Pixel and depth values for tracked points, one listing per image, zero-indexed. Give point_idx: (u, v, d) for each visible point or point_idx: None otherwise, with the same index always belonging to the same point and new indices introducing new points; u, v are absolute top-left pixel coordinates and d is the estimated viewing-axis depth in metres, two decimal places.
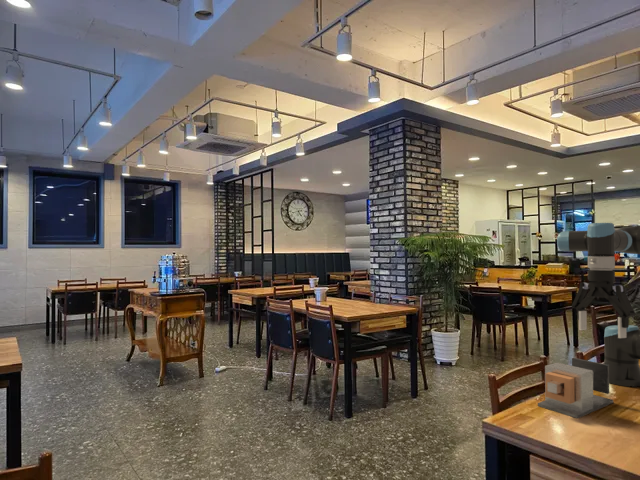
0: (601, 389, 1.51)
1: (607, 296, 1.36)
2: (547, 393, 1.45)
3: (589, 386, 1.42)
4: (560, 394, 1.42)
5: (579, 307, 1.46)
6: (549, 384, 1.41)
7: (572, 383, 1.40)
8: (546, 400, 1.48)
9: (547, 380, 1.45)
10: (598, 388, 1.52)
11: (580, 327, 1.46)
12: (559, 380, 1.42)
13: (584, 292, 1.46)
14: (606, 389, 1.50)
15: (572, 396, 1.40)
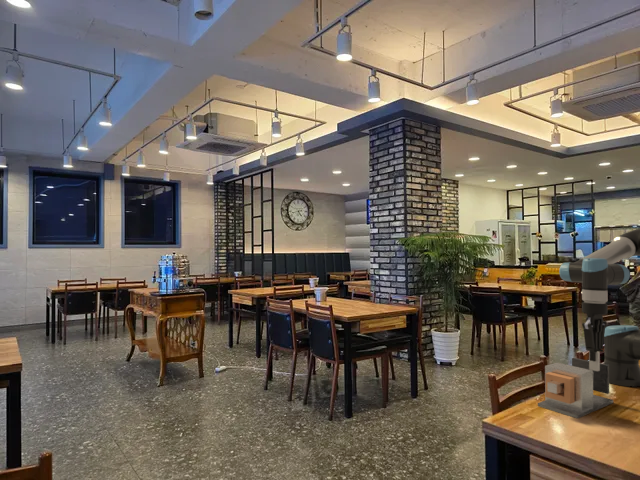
0: (601, 389, 1.51)
1: None
2: (547, 393, 1.45)
3: (589, 386, 1.42)
4: (560, 394, 1.42)
5: None
6: (549, 384, 1.41)
7: (572, 383, 1.40)
8: (546, 400, 1.48)
9: (547, 380, 1.45)
10: (598, 388, 1.52)
11: None
12: (559, 380, 1.42)
13: None
14: (606, 389, 1.50)
15: (572, 396, 1.40)
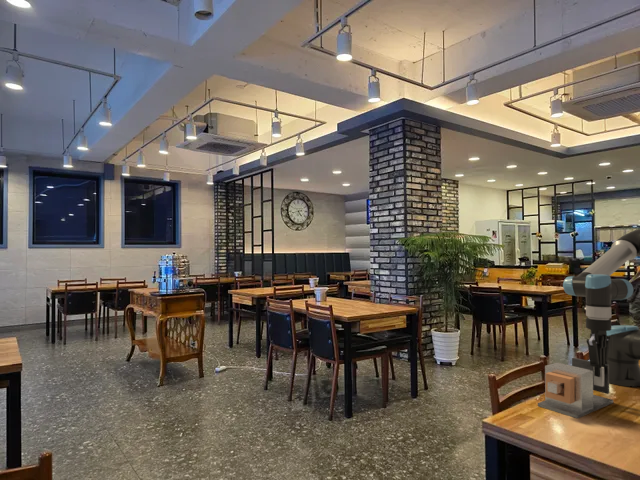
0: (601, 389, 1.51)
1: None
2: (547, 393, 1.45)
3: (589, 386, 1.42)
4: (560, 394, 1.42)
5: None
6: (549, 384, 1.41)
7: (572, 383, 1.40)
8: (546, 400, 1.48)
9: (547, 380, 1.45)
10: (598, 388, 1.52)
11: None
12: (559, 380, 1.42)
13: None
14: (606, 389, 1.50)
15: (572, 396, 1.40)
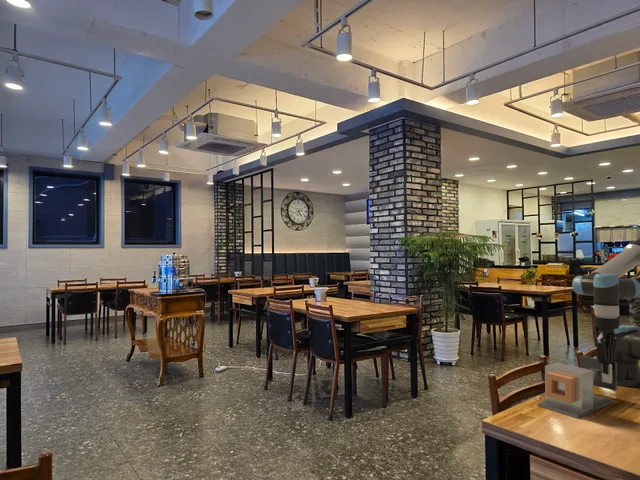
0: (609, 386, 1.55)
1: None
2: (548, 393, 1.45)
3: (589, 386, 1.42)
4: (561, 394, 1.42)
5: None
6: None
7: (573, 383, 1.40)
8: (546, 400, 1.48)
9: (548, 380, 1.45)
10: (606, 385, 1.56)
11: None
12: (560, 380, 1.42)
13: None
14: (614, 386, 1.53)
15: (573, 396, 1.40)
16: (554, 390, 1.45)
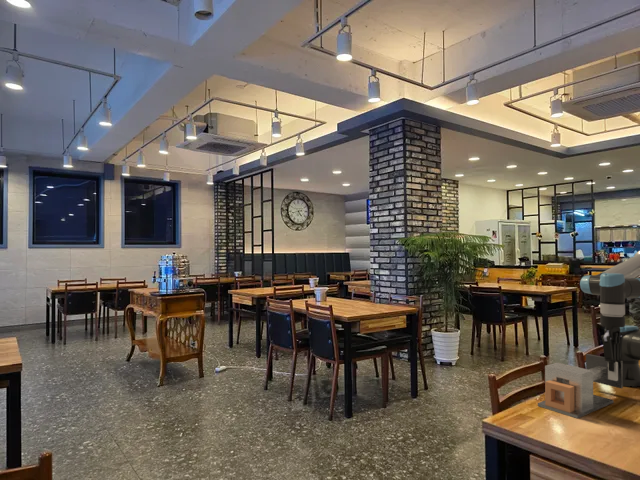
0: (615, 384, 1.57)
1: None
2: (547, 401, 1.45)
3: (589, 386, 1.42)
4: (560, 403, 1.42)
5: None
6: (566, 379, 1.47)
7: (572, 392, 1.40)
8: None
9: (547, 388, 1.45)
10: (611, 383, 1.58)
11: None
12: (559, 389, 1.41)
13: None
14: (620, 384, 1.56)
15: (572, 405, 1.39)
16: (553, 399, 1.45)
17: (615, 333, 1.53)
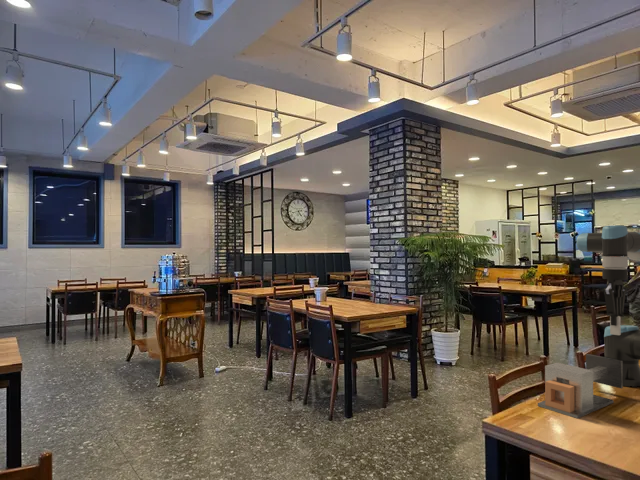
0: (615, 384, 1.57)
1: None
2: (547, 401, 1.45)
3: (589, 386, 1.42)
4: (560, 403, 1.42)
5: None
6: (566, 379, 1.47)
7: (572, 392, 1.40)
8: None
9: (547, 388, 1.45)
10: (611, 383, 1.58)
11: None
12: (559, 389, 1.41)
13: None
14: (620, 384, 1.56)
15: (572, 405, 1.39)
16: (553, 399, 1.45)
17: (617, 286, 1.50)
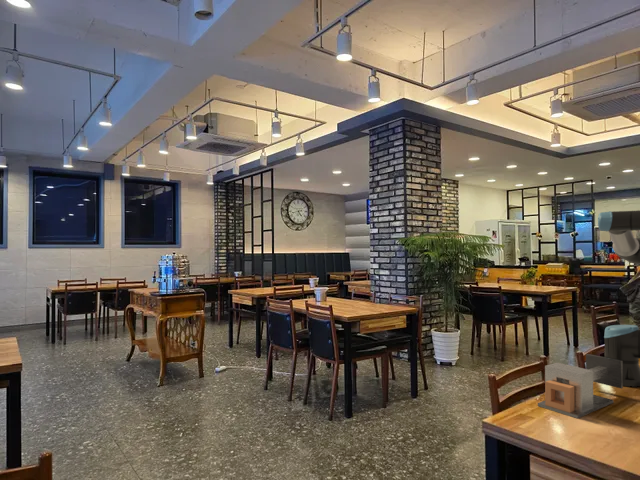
0: (615, 384, 1.57)
1: None
2: (547, 401, 1.45)
3: (589, 386, 1.42)
4: (560, 403, 1.42)
5: None
6: (566, 379, 1.47)
7: (572, 392, 1.40)
8: None
9: (547, 388, 1.45)
10: (611, 383, 1.58)
11: None
12: (559, 389, 1.41)
13: None
14: (620, 384, 1.56)
15: (572, 405, 1.39)
16: (553, 399, 1.45)
17: None
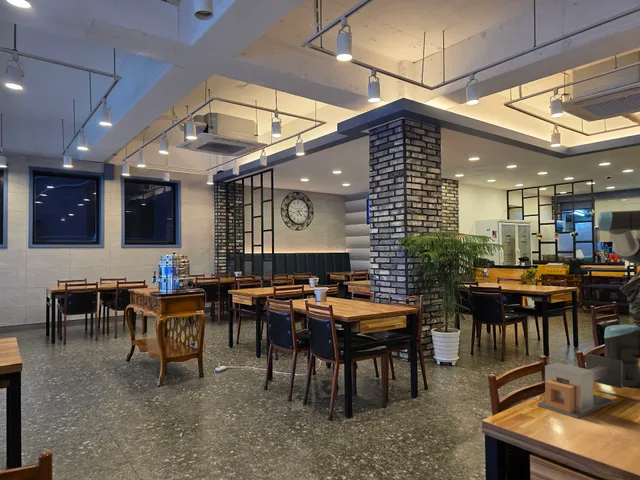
0: (615, 384, 1.57)
1: None
2: (547, 401, 1.45)
3: (589, 386, 1.42)
4: (560, 403, 1.42)
5: None
6: (566, 379, 1.47)
7: (572, 392, 1.40)
8: None
9: (547, 388, 1.45)
10: (611, 383, 1.58)
11: None
12: (559, 389, 1.41)
13: None
14: (620, 384, 1.56)
15: (572, 405, 1.39)
16: (553, 399, 1.45)
17: None
